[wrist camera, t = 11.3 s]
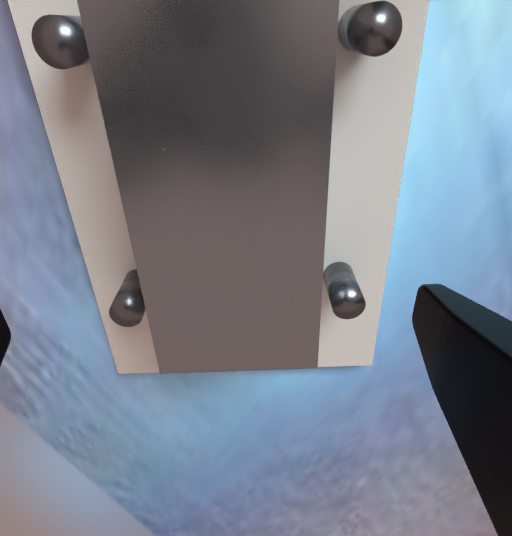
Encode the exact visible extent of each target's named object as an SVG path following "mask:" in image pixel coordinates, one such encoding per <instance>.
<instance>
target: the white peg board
mask: <svg viewBox="0 0 512 536" xmlns="http://www.w3.org/2000/svg"><path fill="white" fill-rule="evenodd" d="M8 4H9V7H10V10H11V14H12V17H13V20H14V24H15V27H16V31H17V34H18V37H19V41H20V44H21V47H22V51H23V54H24V58H25V61H26V64H27V68H28V71H29V74H30V78H31V81H32V85H33V88H34V91H35V95H36V98H37V101H38V105H39V108H40V112H41V115H42V118H43V122H44V125H45V128H46V132H47V135H48V138H49V142H50V145H51V149H52V152H53V155H54V159H55V162H56V165H57V169H58V172H59V176H60V179H61V182H62V186H63V189H64V192H65V196H66V199H67V203H68V206H69V209H70V213H71V216H72V219H73V223H74V226H75V230H76V233H77V236H78V240H79V243H80V246H81V250H82V253H83V257H84V260H85V263H86V267H87V270H88V273H89V277H90V280H91V283H92V287H93V290H94V294H95V297H96V300H97V304H98V307H99V310H100V314H101V317H102V321H103V324H104V327H105V331H106V334H107V337H108V341H109V344H110V348H111V351H112V354H113V358H114V361H115V364H116V368H117V371H118V374H134V373H160V372H159V367H158V363H157V358H156V354H155V349H154V345H153V340H152V336H151V331H150V327H149V322H148V318H147V313H146V309H145V304H144V300H143V295H142V291H141V286H140V282H139V277H138V273H137V268H136V264H135V259H134V255H133V250H132V246H131V241H130V237H129V232H128V228H127V223H126V219H125V214H124V210H123V205H122V201H121V196H120V192H119V187H118V183H117V178H116V174H115V169H114V165H113V160H112V156H111V151H110V147H109V142H108V138H107V134H106V129H105V125H104V120H103V116H102V111H101V107H100V102H99V98H98V93H97V89H96V84H95V80H94V75H93V71H92V66H91V62H90V57H89V53H88V48H87V44H86V39H85V35H84V30H83V26H82V21H81V17H80V12H79V8H78V3H77V0H8ZM428 6H429V0H339V17H338V34H337V51H336V67H335V84H334V101H333V118H332V134H331V151H330V168H329V185H328V201H327V218H326V235H325V252H324V268H323V285H322V302H321V319H320V335H319V352H318V367H337V366H366V365H372V363H373V356H374V350H375V343H376V337H377V331H378V324H379V318H380V312H381V305H382V299H383V293H384V286H385V280H386V273H387V267H388V261H389V254H390V248H391V242H392V235H393V229H394V223H395V216H396V210H397V203H398V197H399V191H400V184H401V178H402V172H403V165H404V159H405V152H406V146H407V140H408V133H409V127H410V121H411V114H412V108H413V102H414V95H415V89H416V82H417V76H418V70H419V63H420V57H421V51H422V44H423V38H424V31H425V25H426V19H427V12H428Z"/></svg>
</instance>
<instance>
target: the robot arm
mask: <svg viewBox="0 0 512 536" xmlns="http://www.w3.org/2000/svg"><path fill="white" fill-rule="evenodd" d="M412 323H413V328H414V331H415V334H416V337H417V341H418V344H419V347H420V350H421V353H422V357H423V360H424V363H425V366H426V370H427V373H428V376H429V379H430V382H431V385H432V388H433V390H434V393H435V395H436V398H437V400H438V402H439V404H440V407H441V409H442V411H443V413H444V416H445V418H446V420H447V422H448V424H449V427H450V429H451V431H452V433H453V436H454V438H455V440H456V442H457V445H458V447H459V449H460V451H461V454H462V456H463V458H464V460H465V463H466V465H467V467H468V469H469V472H470V474H471V476H472V478H473V481H474V483H475V485H476V487H477V489H478V492H479V494H480V496H481V498H482V501H483V503H484V505H485V507H486V510H487V512H488V514H489V516H490V519H491V521H492V523H493V525H494V528H495V530H496V532H497V534H498V536H512V321H510V320H509V319H507V318H505V317H503V316H501V315H499V314H497V313H495V312H493V311H491V310H489V309H488V308H486V307H484V306H482V305H480V304H478V303H476V302H474V301H472V300H470V299H468V298H467V297H465V296H463V295H461V294H459V293H457V292H455V291H453V290H451V289H449V288H447V287H445V286H444V285H441V284H423V285H421V286H420V287H419V289H418V291H417V296H416V301H415V306H414V310H413V315H412ZM10 340H11V333H10V329H9V327H8V325H7V322H6V320H5V318H4V316H3V314H2V311H1V309H0V366H1V364H2V361H3V359H4V356H5V353H6V351H7V348H8V346H9V343H10Z"/></svg>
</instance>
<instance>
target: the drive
mask: <svg viewBox="0 0 512 536" xmlns="http://www.w3.org/2000/svg"><path fill="white" fill-rule="evenodd" d="M77 3H78V8H79V12H80V17H81V21H82V26H83V30H84V35H85V39H86V44H87V48H88V53H89V57H90V62H91V66H92V71H93V75H94V80H95V84H96V89H97V93H98V98H99V102H100V107H101V111H102V116H103V120H104V125H105V129H106V134H107V138H108V142H109V147H110V151H111V156H112V160H113V165H114V169H115V174H116V178H117V183H118V187H119V192H120V196H121V201H122V205H123V210H124V214H125V219H126V223H127V228H128V232H129V237H130V241H131V246H132V250H133V255H134V259H135V264H136V268H137V273H138V277H139V282H140V286H141V291H142V295H143V300H144V304H145V309H146V313H147V318H148V322H149V327H150V331H151V336H152V340H153V345H154V349H155V354H156V358H157V363H158V367H159V372H160V374H162V373H190V372H219V371H248V370H276V369H305V368H318V352H319V335H320V319H321V302H322V285H323V268H324V252H325V235H326V218H327V201H328V185H329V168H330V151H331V134H332V118H333V101H334V84H335V67H336V51H337V34H338V17H339V0H77Z"/></svg>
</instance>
